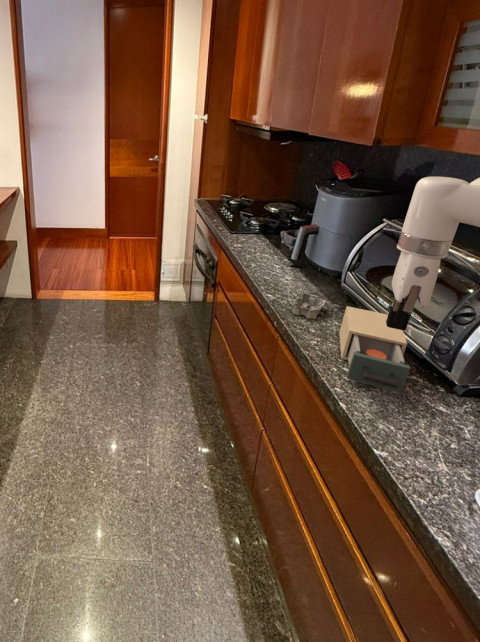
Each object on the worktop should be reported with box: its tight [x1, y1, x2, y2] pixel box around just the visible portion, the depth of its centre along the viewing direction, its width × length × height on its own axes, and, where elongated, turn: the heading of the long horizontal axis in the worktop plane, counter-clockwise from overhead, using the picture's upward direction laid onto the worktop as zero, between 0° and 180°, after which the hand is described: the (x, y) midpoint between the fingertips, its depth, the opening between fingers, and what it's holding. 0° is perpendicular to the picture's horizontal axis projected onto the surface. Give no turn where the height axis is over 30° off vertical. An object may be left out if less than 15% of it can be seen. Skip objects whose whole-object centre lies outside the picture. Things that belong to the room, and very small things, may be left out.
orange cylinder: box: [365, 349, 387, 360], centre depth 90 cm, size 4×4×4 cm
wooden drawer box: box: [339, 305, 408, 361], centre depth 98 cm, size 13×11×8 cm
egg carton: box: [291, 290, 326, 320], centre depth 118 cm, size 11×8×4 cm
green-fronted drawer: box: [346, 334, 411, 394], centre depth 89 cm, size 17×10×7 cm, turn 152°
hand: (395, 326), depth 80 cm, fingers closed
